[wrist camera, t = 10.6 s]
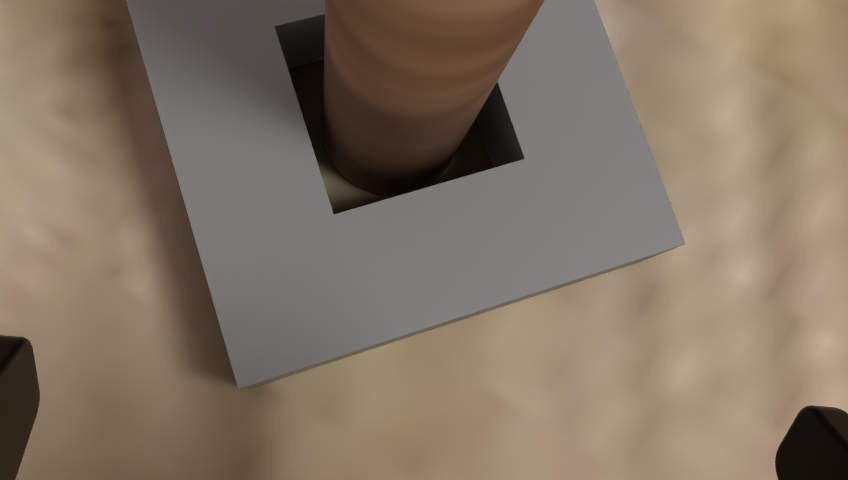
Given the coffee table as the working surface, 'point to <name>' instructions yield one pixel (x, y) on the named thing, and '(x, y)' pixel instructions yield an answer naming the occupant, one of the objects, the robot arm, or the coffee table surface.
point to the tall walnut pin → (411, 82)
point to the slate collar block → (398, 216)
